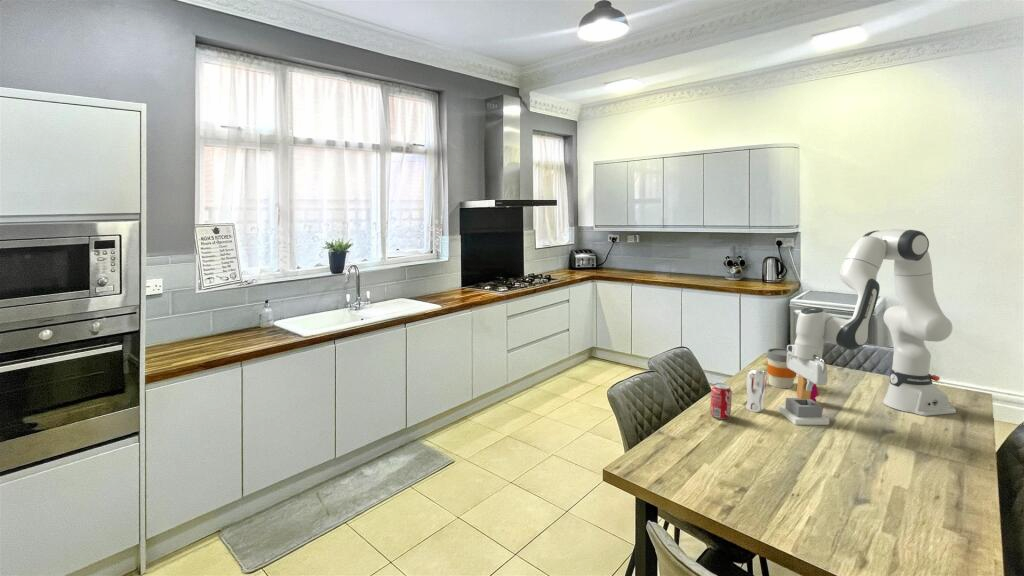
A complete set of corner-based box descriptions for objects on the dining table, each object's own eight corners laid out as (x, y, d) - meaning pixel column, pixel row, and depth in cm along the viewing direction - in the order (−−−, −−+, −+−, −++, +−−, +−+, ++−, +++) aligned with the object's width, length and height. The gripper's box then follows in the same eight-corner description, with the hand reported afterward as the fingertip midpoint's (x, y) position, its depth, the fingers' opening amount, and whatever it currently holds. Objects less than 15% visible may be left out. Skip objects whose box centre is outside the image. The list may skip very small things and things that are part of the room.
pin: (805, 396, 182) (807, 370, 180) (810, 399, 179) (812, 373, 177) (796, 395, 182) (798, 370, 180) (801, 399, 179) (803, 372, 177)
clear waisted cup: (764, 407, 191) (766, 370, 189) (764, 413, 185) (767, 375, 183) (744, 404, 194) (747, 368, 192) (744, 410, 188) (747, 373, 186)
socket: (809, 411, 187) (810, 396, 186) (829, 424, 175) (830, 408, 174) (777, 411, 187) (779, 396, 186) (795, 424, 176) (796, 408, 175)
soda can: (729, 414, 185) (731, 383, 183) (731, 421, 179) (733, 390, 177) (709, 411, 187) (711, 381, 186) (710, 418, 181) (712, 387, 179)
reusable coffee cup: (789, 380, 221) (791, 348, 219) (802, 390, 209) (805, 356, 207) (760, 379, 222) (762, 347, 220) (771, 389, 210) (774, 355, 208)
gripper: (834, 360, 167) (830, 399, 169) (801, 344, 187) (797, 379, 190) (816, 360, 167) (812, 398, 169) (784, 344, 188) (781, 379, 190)
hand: (804, 388), depth 180 cm, fingers closed on pin, 3 cm apart
